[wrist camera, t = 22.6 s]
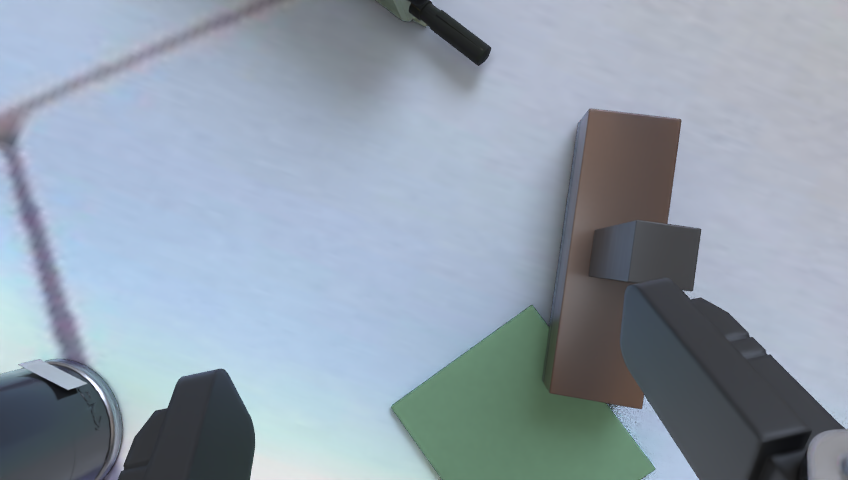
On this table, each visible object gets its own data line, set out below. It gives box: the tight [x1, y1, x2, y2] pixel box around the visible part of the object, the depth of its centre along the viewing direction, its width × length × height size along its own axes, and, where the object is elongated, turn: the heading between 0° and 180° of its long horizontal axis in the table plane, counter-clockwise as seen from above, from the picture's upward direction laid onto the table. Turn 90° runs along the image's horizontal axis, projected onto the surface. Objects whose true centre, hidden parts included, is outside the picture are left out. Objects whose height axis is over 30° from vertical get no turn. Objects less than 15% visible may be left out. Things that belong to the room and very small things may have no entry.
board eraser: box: [542, 109, 701, 409], centre depth 25 cm, size 5×16×10 cm, turn 172°
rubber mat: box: [391, 305, 655, 480], centre depth 31 cm, size 11×12×1 cm
